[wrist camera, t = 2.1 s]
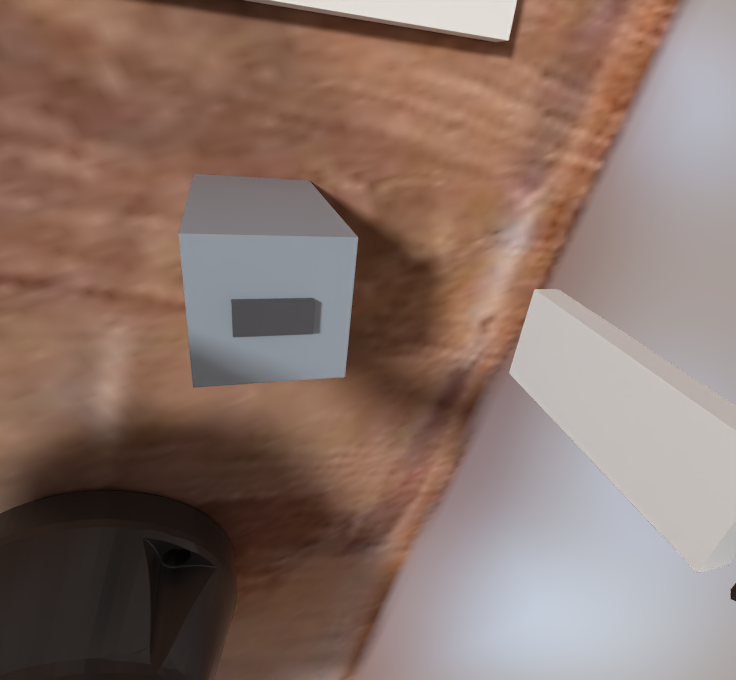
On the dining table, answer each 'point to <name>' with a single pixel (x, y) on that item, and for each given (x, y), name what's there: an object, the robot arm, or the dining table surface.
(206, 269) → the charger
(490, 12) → the charging dock
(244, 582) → the dining table surface
